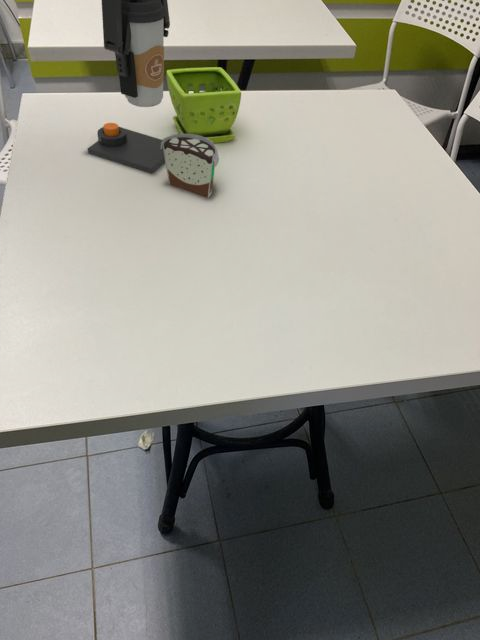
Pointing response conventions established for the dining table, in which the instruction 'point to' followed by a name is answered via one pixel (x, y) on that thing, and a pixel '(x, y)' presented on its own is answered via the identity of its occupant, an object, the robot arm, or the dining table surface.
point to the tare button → (111, 129)
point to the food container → (190, 162)
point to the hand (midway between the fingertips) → (143, 86)
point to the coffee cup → (147, 50)
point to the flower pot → (204, 102)
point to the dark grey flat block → (130, 149)
